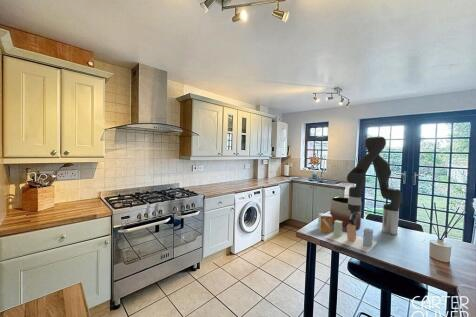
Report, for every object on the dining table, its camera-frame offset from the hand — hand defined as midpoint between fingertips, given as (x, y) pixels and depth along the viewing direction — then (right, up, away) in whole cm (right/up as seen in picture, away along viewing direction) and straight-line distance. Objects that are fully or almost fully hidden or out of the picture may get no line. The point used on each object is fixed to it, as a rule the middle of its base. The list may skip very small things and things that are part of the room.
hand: (352, 228), depth 134 cm
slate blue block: (+5, -8, -7) cm, 12 cm away
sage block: (-7, -7, +6) cm, 11 cm away
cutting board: (-2, -8, 0) cm, 8 cm away
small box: (-13, -8, +14) cm, 21 cm away
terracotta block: (-1, -7, -1) cm, 7 cm away
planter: (+11, -7, +31) cm, 33 cm away
